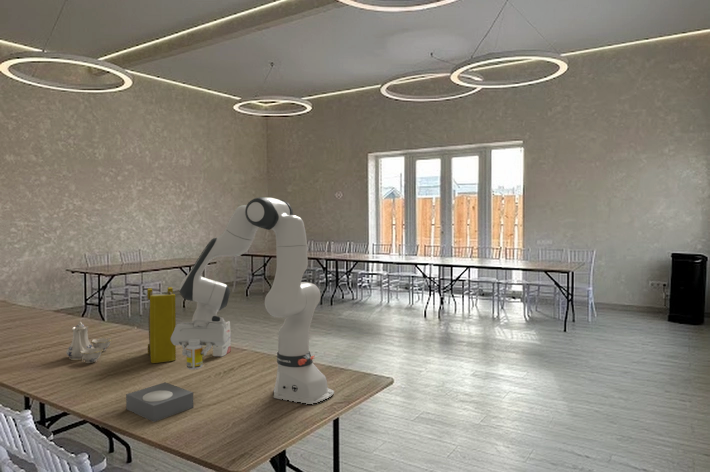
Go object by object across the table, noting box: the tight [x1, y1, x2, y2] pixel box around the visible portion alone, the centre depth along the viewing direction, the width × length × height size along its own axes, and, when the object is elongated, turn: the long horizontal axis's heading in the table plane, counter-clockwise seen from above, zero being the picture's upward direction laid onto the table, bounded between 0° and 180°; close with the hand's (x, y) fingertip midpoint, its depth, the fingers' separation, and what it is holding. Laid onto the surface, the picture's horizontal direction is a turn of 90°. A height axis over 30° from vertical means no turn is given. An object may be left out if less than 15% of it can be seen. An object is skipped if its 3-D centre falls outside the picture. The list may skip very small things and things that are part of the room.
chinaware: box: [65, 321, 112, 364], centre depth 210 cm, size 28×17×17 cm, turn 21°
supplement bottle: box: [185, 339, 204, 370], centre depth 173 cm, size 6×6×10 cm
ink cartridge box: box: [212, 320, 232, 358], centre depth 217 cm, size 9×5×15 cm, turn 168°
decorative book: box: [146, 286, 177, 364], centre depth 211 cm, size 20×11×30 cm, turn 26°
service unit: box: [125, 382, 194, 423], centre depth 155 cm, size 17×14×5 cm
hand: (193, 354), depth 172 cm, fingers closed on supplement bottle, 6 cm apart
